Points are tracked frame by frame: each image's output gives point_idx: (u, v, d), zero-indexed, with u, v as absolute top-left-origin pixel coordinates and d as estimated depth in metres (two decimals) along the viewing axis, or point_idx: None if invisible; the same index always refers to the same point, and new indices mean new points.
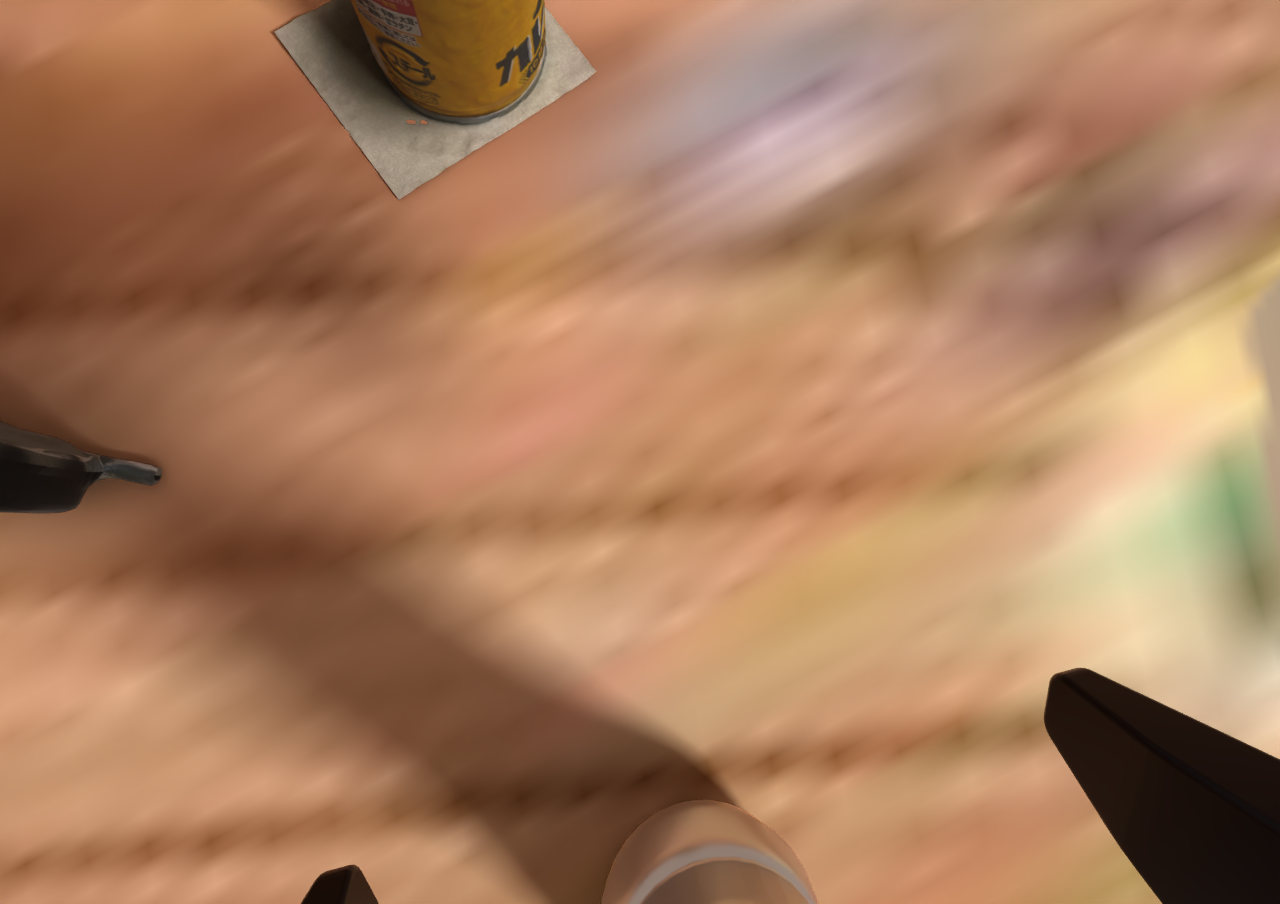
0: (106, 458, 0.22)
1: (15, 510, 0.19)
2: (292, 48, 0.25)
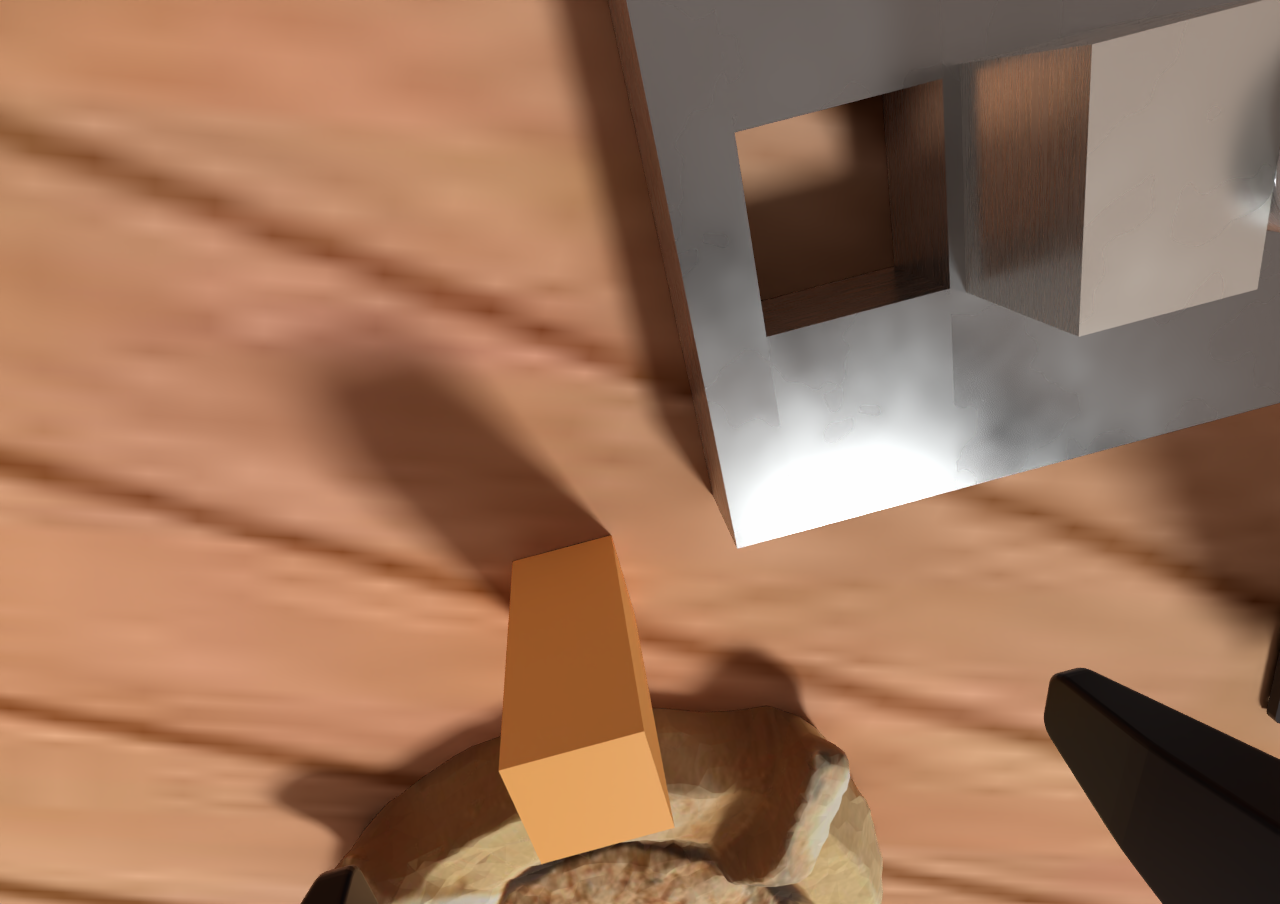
0: None
1: None
2: None
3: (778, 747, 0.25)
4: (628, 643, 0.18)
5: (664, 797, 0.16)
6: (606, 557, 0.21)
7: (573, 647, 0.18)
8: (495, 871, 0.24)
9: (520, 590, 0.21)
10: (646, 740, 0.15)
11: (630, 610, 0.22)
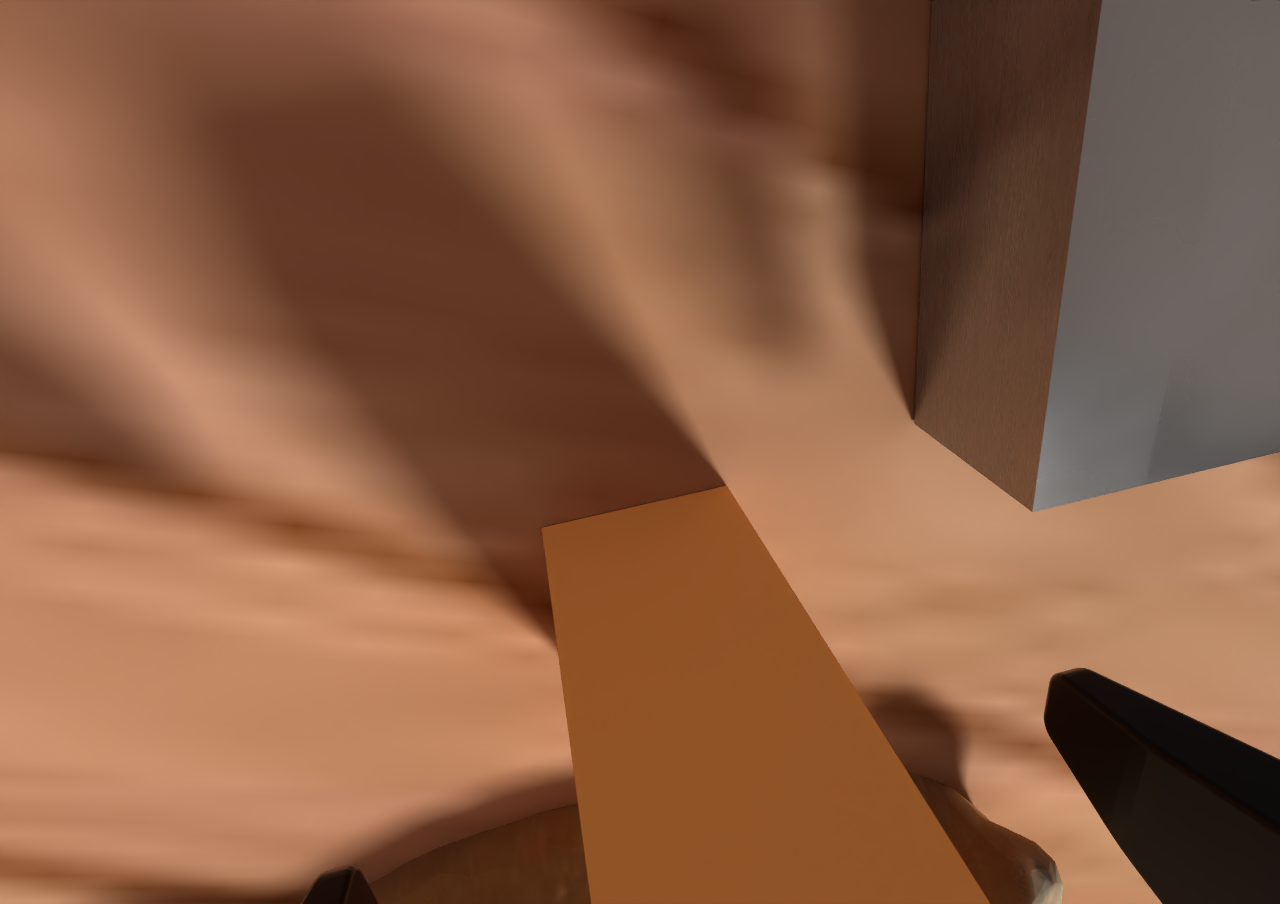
0: None
1: None
2: None
3: None
4: (869, 716, 0.08)
5: None
6: (733, 524, 0.11)
7: (733, 721, 0.08)
8: None
9: (570, 583, 0.10)
10: None
11: None
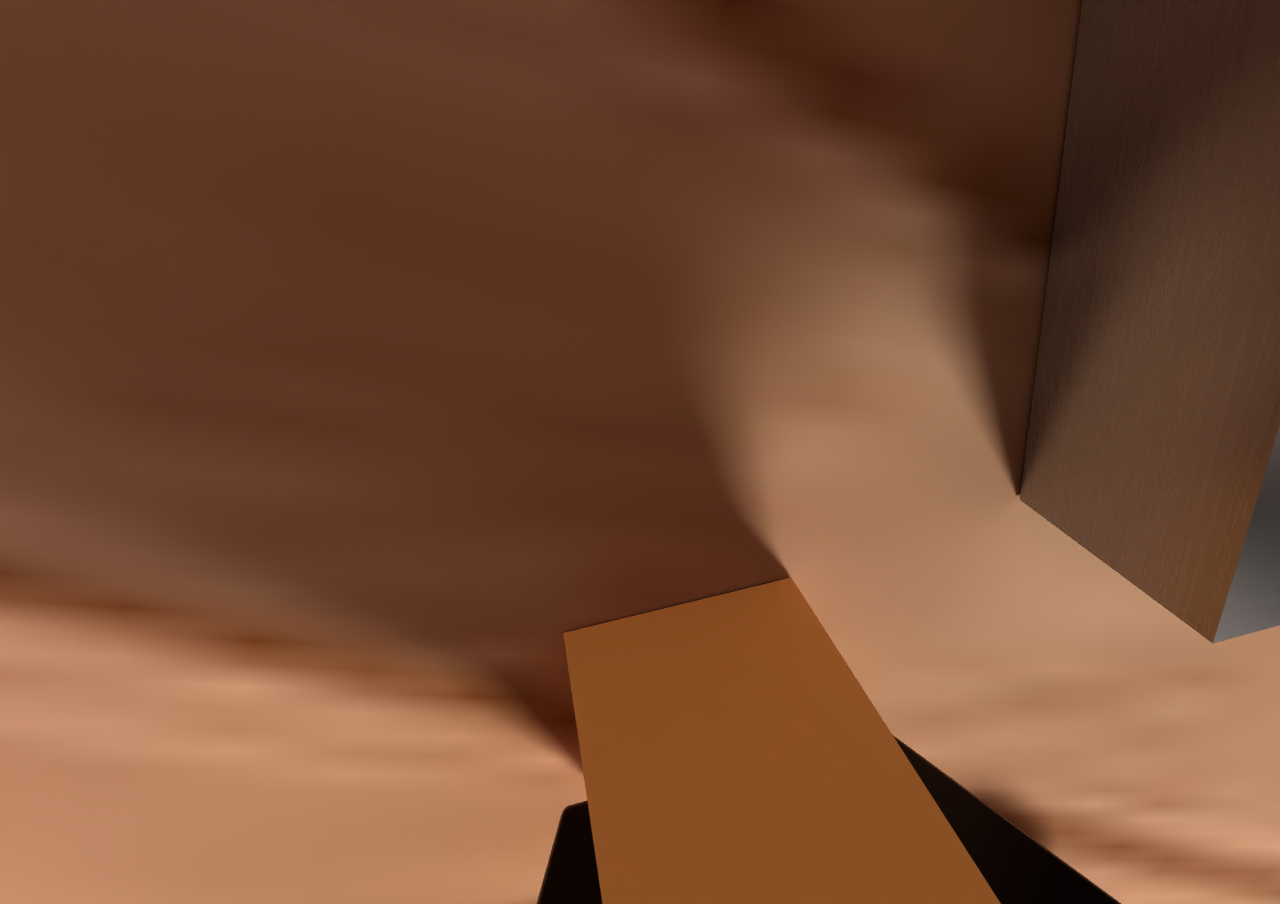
0: None
1: None
2: None
3: None
4: None
5: None
6: (807, 637, 0.09)
7: None
8: None
9: (603, 723, 0.08)
10: None
11: None
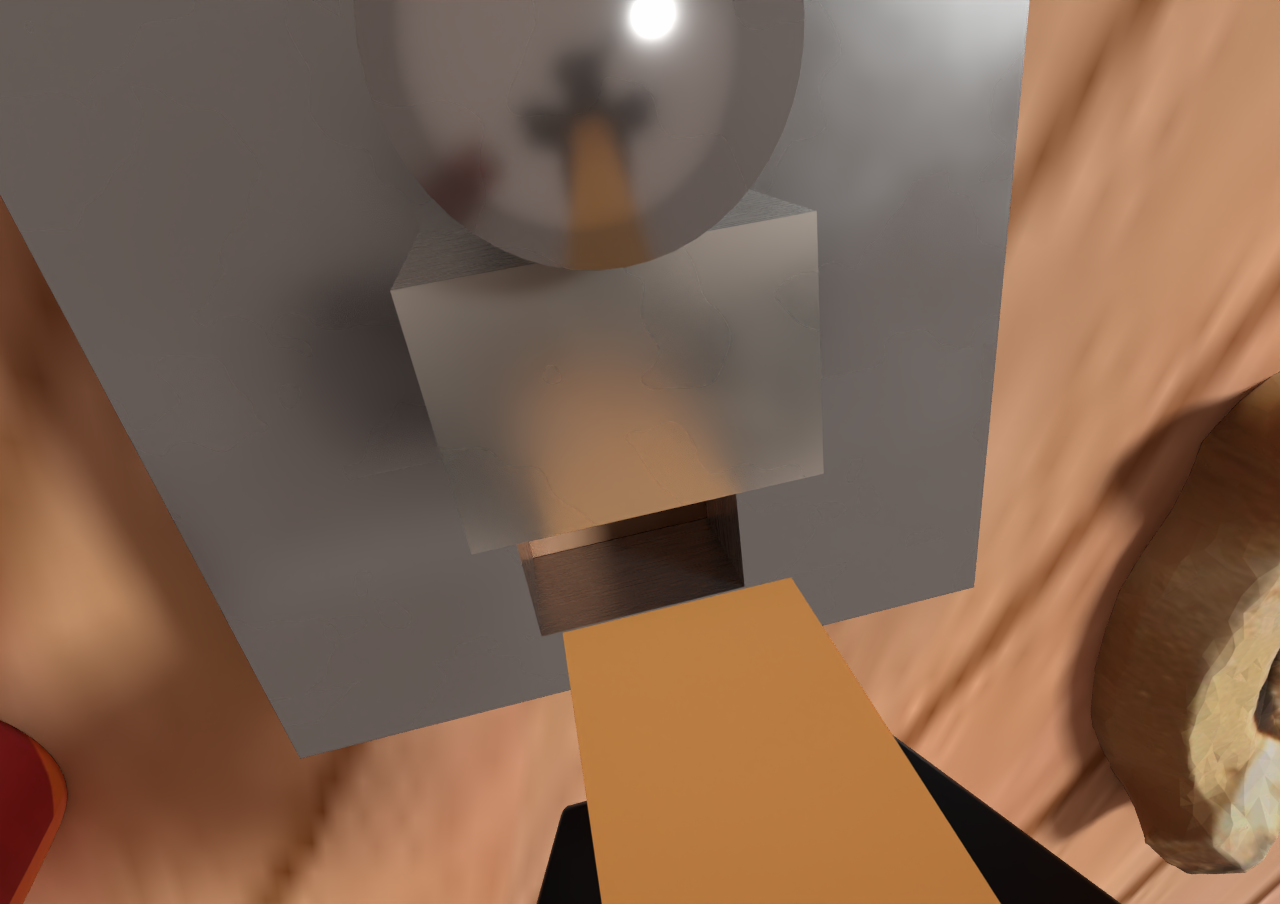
0: None
1: None
2: None
3: (1265, 468, 0.19)
4: None
5: None
6: (807, 637, 0.09)
7: None
8: (1236, 748, 0.24)
9: (603, 723, 0.08)
10: None
11: None
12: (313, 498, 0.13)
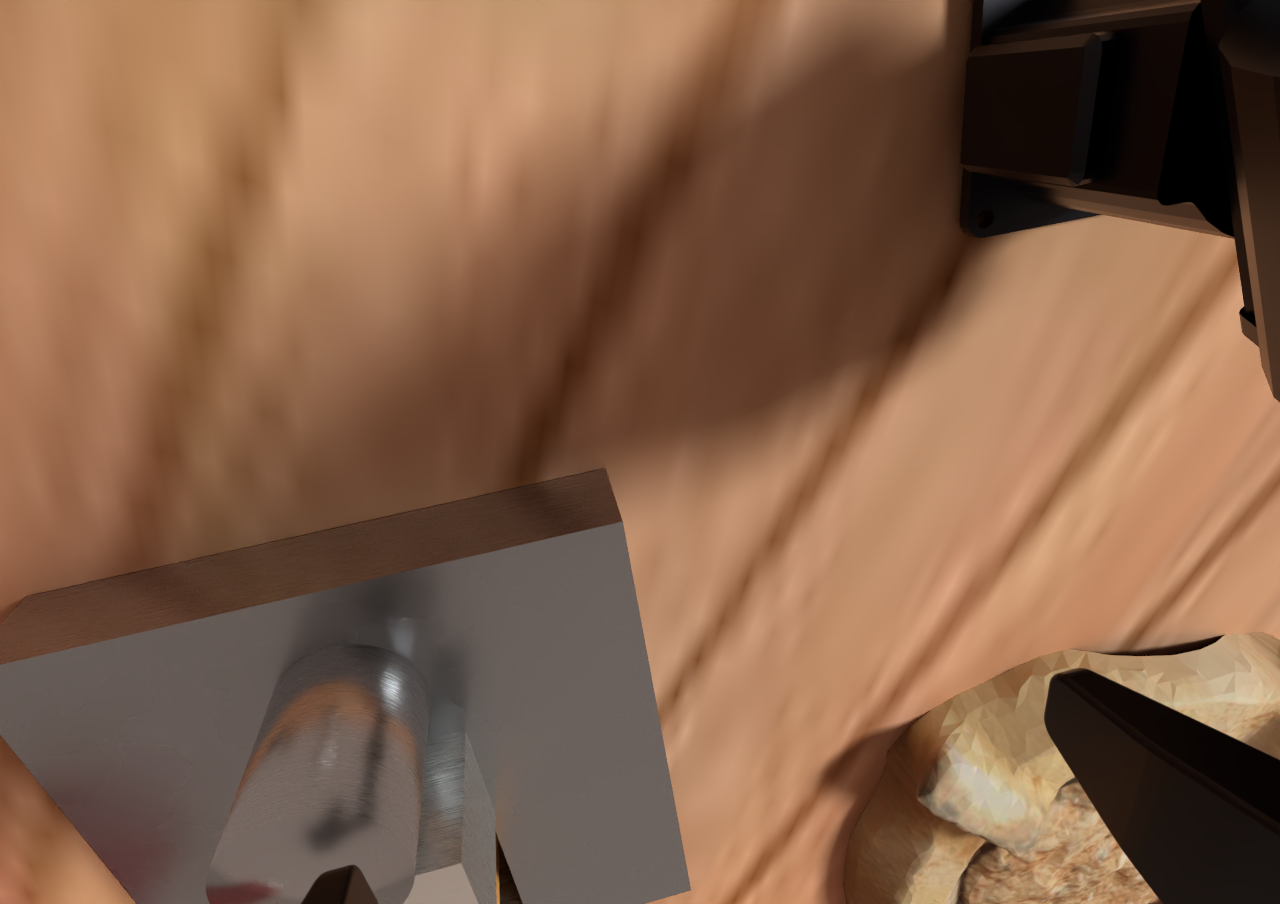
0: None
1: None
2: None
3: (917, 783, 0.28)
4: None
5: None
6: None
7: None
8: None
9: None
10: None
11: None
12: None
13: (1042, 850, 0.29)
